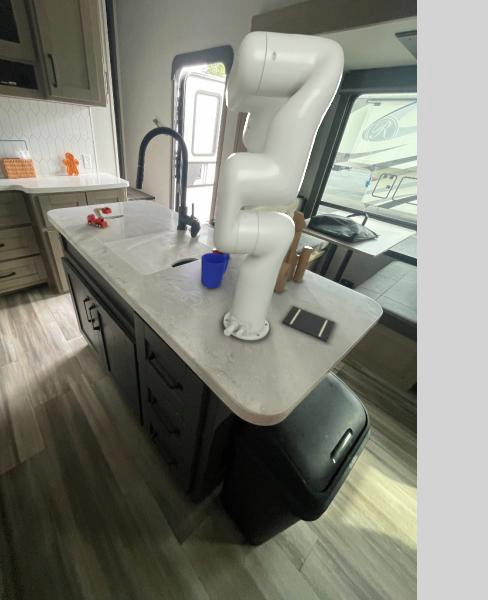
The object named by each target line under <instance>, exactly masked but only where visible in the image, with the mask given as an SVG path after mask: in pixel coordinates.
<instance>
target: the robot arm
mask: <svg viewBox="0 0 488 600" xmlns="http://www.w3.org/2000/svg"><path fill="white" fill-rule="evenodd" d="M344 65H345V54H344V49H343V47H342V46H341V44H340V43H338V42H337V41H336V40H333V39H331V38H328V37H323V36H319V35H310V34H302V33H301V34H300V33H285V32H274V31H261V30H259V31H258V30H256V31H251V32H249V33H247V34H246V35H245V36H244V38H243V39H242V40H241V42H240V44H239V47H238V50H237V53H236V55H235V58H234V60H233V63H232V66H231V69H230V71H229V75H228V79H227V84H226V91H225V99H226V100H225V101H226V106H227V109H229V111H231V112H235V113H245V114H247V117H246V121H245V125H244V128H243V132H242V138H241V141H242V144H243V145H244V147H245V148H246V149H247V151H249V152H245V151H244V152H243V151H242V152H241V151H239V152H234V153H232V154H231V155H229V156H228V157H227V158H226V160H225V161H224V164H223V166H222V169H221V173H220V178H219V186H218V192H217V193H218V194H217V202H216V209H215V217H214V224H213V225H214V227H213V235H212V236H213V245H214V247H215V248H216V249H217V250H218V251H219V252H222V253H225V254H228V255H229V254H230V255H246V256H245V257H244V258H243V260H242V261H241V263H240V265H239V267H238V270H237V274H236V275H237V276H236V281H235V287H234V291H233V296H232V302H231V308H230V310H229V311H228V312H227V313H226V314H224V316H223V321H222V322H223V327H224V328H225V329H224V330H223V334H224V335H225V336H226V337H230V336H231V335H232V336H233V337H235V338H237V339H240V340H244V341H258V340H261V339H263V338H264V337H266V336H267V334H268V333H269V329H270V324H269V322H268V320H267V315H268V312H269V309H270V304H271V302H272V298H273V294H274V292H275V291H274V287H275V284H276V281H277V277H278V274H279V271H280V267H281V265H282V262H283V260H284V257H285V255H286V253H287V251H288V250H289V248H290V246H291V243H292V241H293V238H294V234H295V226H294V222H293V218H291V217H290V216H289V215H288V214H285V213H282V212H280V211H279V212H278V211H272V210H271V211H270V210H248V209H247V206H248V207H267V208H268V207H269V208H281V207H282V208H284V207H287V206H291V205H292V204H293V203H294V202H295V201H296V199H297V197H298V195H299V192H300V190H301V187H302V183H303V180H304V178H305V173H306V170H307V167H308V163H309V159H310V156H311V152H312V150H313V146H314V143H315V139H316V136H317V132H318V129H319V127H320V125H321V123H322V121H323V119H324V117H325V115H326V114H327V111H328V109H329V107H330V106H331V105H332V104H331V103H332V102H333V100H334V98H335V95H336V94H337V92H338V89H339V86H340V83H341V81H342V77H343V73H344V67H345V66H344ZM215 248H214V249H215Z"/></svg>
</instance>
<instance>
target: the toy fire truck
mask: <svg viewBox="0 0 488 600" xmlns="http://www.w3.org/2000/svg"><path fill="white" fill-rule="evenodd" d="M101 212H102V214H104V215H109V214H112V209H111V208H110V207H108V206H104V207H96V208H94V209H93V213H91V214H88V215H86V220H87V224H89V225H90V226H91V225H93V226H96V227H99V228H105V227H106V226H107V227H108V222H107V221H106V220H105V217H104V216H102V214H101ZM96 216H97V218H96Z"/></svg>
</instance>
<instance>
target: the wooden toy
mask: <svg viewBox="0 0 488 600" xmlns="http://www.w3.org/2000/svg"><path fill="white" fill-rule="evenodd" d="M292 220H293V222H294V226H295V234H294V238H293V241H292V243H291V246H290V248H289V250H288V251H287V253H286V255H285V257H284V260H283V262H282V265H281V267H280V271H279V274H278V277H277V281H276V284H275V287H274V291H273V292H276V293H280V292H283V291H284V290H285V287H286V284H287V281H289V280H291V279H292V280H293V281H294V282H296V283H301V282H302V281H303V278H304V276H305V273H306V269H307V266H308V264H309V260H310V259H311V255H312V252H313V248H312V247H311V246H308V245H307V246H305V245H304V246H302V248H301V252H300V254H297V249H298V246H299V243H300V240H301V237H302V235H303V234H302V233H303V230H307V229H308V226H307V223H306V220H305V216H304V213H303V212H301V211H297V210H296V211H294V214H293V218H292Z"/></svg>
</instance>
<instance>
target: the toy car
mask: <svg viewBox="0 0 488 600" xmlns="http://www.w3.org/2000/svg"><path fill="white" fill-rule="evenodd" d="M211 250H212V252H211V253H217V254H221V255H224V254H225V253H222V252H219V251H218V250H217V249H216V248H212V249H211ZM230 259H231V254H229V260H230Z"/></svg>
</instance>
